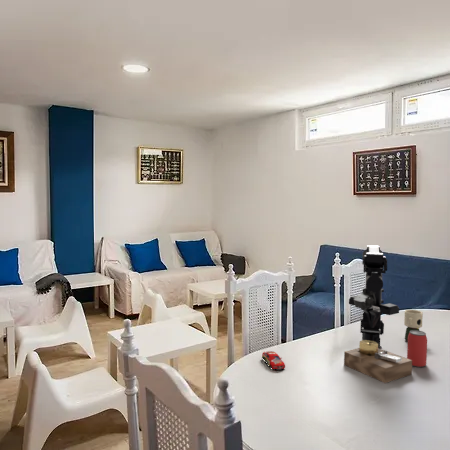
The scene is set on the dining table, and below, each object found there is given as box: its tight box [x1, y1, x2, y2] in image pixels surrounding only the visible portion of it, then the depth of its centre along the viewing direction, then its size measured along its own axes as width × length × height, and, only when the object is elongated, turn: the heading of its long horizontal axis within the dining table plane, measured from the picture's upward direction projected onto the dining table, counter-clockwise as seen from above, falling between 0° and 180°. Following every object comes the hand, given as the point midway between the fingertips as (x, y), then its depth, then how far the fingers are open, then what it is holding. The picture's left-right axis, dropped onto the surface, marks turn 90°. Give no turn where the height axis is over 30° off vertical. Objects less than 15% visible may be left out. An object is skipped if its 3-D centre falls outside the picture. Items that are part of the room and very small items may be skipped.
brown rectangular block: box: [343, 347, 413, 384], centre depth 153 cm, size 18×14×7 cm
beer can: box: [406, 330, 428, 368], centre depth 159 cm, size 7×7×12 cm
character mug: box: [403, 309, 424, 341], centre depth 185 cm, size 11×7×13 cm, turn 140°
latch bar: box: [378, 352, 402, 362], centre depth 149 cm, size 8×3×2 cm, turn 32°
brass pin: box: [358, 339, 378, 356], centre depth 157 cm, size 6×6×8 cm
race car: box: [261, 350, 286, 371], centre depth 157 cm, size 13×5×4 cm, turn 14°
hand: (372, 327), depth 161 cm, fingers closed
